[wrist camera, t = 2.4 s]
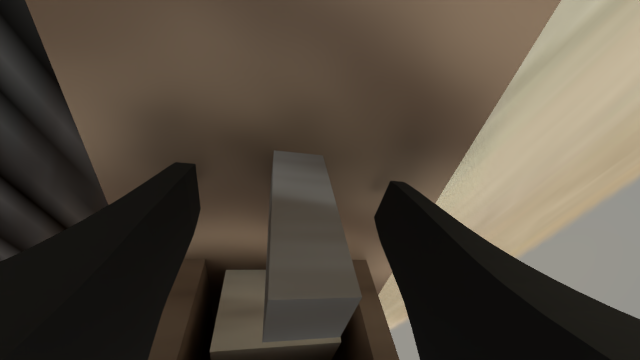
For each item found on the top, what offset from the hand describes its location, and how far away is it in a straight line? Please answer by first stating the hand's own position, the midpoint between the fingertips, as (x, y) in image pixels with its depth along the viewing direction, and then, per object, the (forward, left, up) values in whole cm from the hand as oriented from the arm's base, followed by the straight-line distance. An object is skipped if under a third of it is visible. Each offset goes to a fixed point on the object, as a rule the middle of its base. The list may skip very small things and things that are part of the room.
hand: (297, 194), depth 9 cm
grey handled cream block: (+5, -3, -1) cm, 6 cm away
